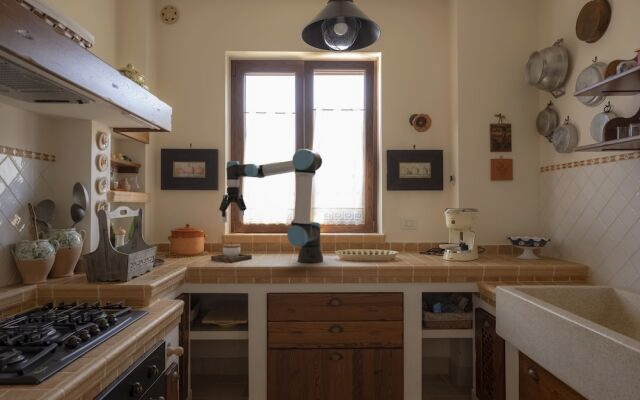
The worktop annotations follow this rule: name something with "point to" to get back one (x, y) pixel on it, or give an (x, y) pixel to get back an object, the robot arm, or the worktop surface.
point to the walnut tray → (224, 259)
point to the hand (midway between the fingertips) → (233, 221)
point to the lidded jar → (231, 250)
